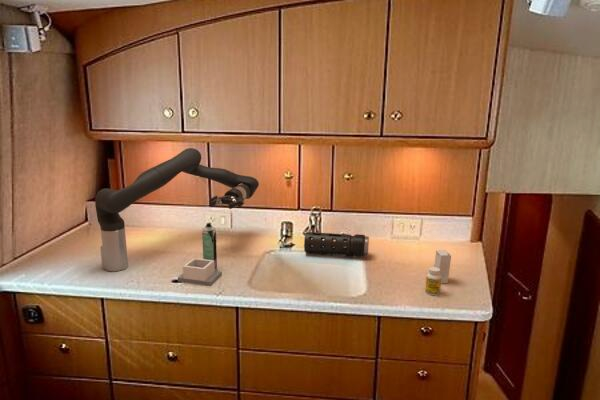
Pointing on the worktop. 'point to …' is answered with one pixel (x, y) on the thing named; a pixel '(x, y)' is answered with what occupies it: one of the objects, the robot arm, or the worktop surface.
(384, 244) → the worktop surface
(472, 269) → the worktop surface
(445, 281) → the skincare box
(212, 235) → the spray can
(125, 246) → the robot arm
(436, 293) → the supplement bottle
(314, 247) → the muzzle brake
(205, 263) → the socket board
